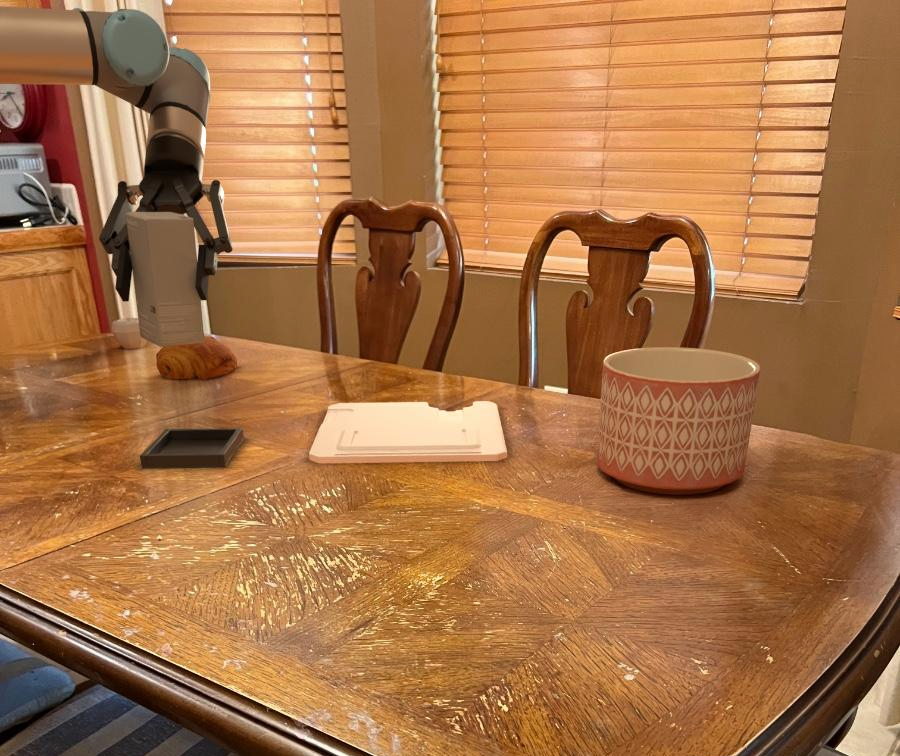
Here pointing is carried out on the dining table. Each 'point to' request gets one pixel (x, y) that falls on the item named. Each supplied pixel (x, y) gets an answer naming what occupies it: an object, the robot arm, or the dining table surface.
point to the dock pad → (193, 448)
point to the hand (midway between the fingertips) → (161, 294)
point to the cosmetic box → (165, 277)
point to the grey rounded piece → (128, 333)
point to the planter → (676, 418)
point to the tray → (408, 433)
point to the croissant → (196, 360)
